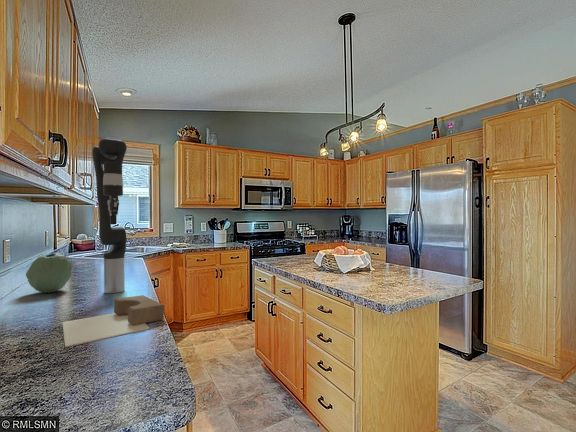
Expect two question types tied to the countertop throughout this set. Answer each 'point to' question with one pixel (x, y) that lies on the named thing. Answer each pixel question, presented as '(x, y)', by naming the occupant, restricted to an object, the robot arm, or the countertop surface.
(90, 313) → the countertop surface
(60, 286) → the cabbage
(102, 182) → the robot arm
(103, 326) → the sand mat
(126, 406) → the countertop surface
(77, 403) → the countertop surface
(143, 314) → the decorative block
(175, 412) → the countertop surface
